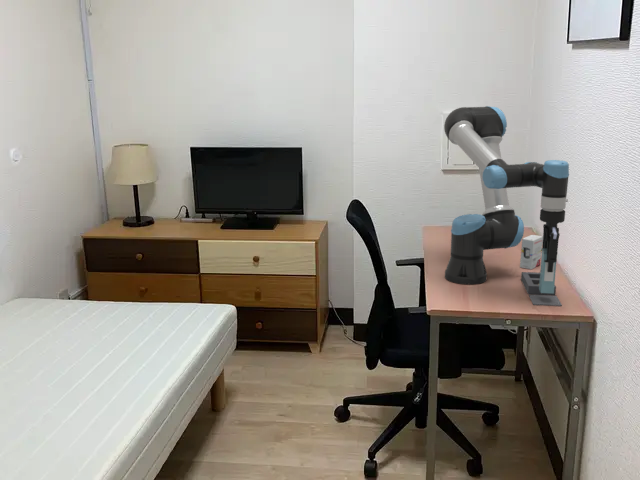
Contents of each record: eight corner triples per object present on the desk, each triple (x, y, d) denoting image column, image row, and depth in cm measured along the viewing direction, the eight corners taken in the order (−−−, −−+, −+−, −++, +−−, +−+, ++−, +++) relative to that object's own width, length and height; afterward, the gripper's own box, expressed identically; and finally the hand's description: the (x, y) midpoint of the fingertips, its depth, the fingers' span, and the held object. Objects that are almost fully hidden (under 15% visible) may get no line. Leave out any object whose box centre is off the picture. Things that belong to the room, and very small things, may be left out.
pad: (561, 306, 207) (562, 305, 206) (533, 304, 208) (533, 303, 208) (556, 296, 215) (556, 295, 215) (528, 295, 216) (528, 294, 216)
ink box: (529, 262, 254) (531, 234, 251) (541, 265, 251) (543, 236, 248) (519, 267, 248) (521, 238, 245) (531, 270, 245) (533, 240, 242)
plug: (554, 293, 208) (557, 252, 205) (540, 293, 209) (544, 251, 205) (551, 289, 212) (554, 248, 209) (538, 288, 213) (541, 248, 209)
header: (555, 295, 217) (556, 287, 216) (528, 294, 218) (528, 285, 217) (546, 280, 232) (547, 272, 231) (521, 279, 233) (521, 271, 232)
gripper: (571, 214, 195) (564, 287, 201) (559, 204, 211) (553, 271, 217) (545, 214, 196) (539, 286, 202) (536, 203, 212) (531, 270, 218)
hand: (547, 278), depth 209 cm, fingers closed on plug, 4 cm apart
